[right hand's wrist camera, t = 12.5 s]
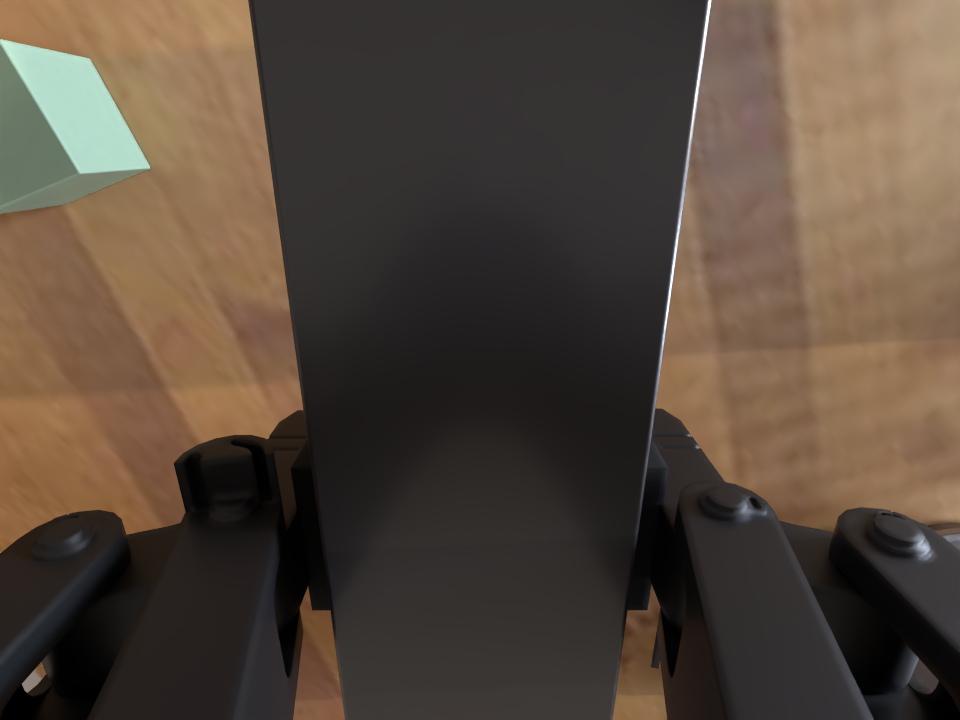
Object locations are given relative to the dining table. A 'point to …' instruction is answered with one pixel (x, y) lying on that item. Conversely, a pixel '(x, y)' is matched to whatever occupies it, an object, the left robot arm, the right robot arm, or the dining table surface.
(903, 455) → the dining table surface
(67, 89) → the green block
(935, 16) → the dining table surface
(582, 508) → the plank
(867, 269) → the dining table surface
